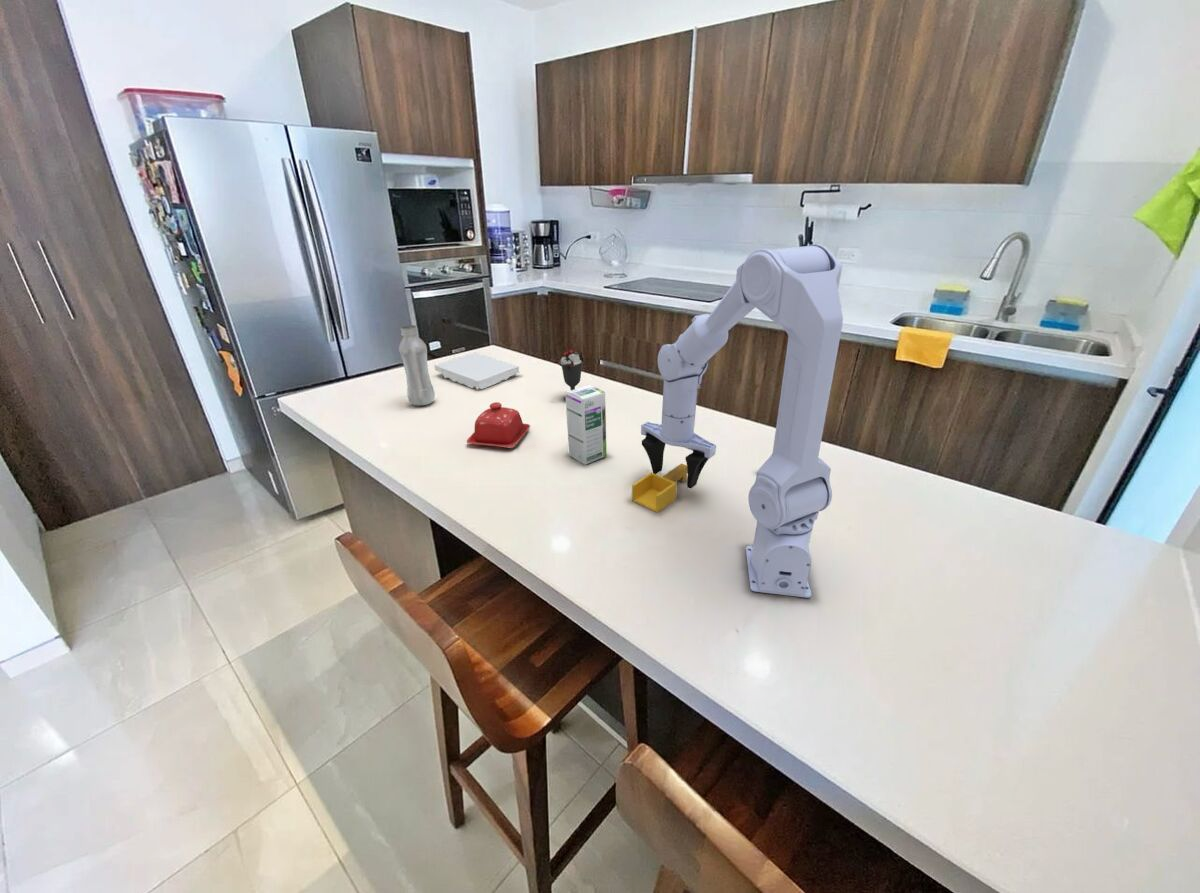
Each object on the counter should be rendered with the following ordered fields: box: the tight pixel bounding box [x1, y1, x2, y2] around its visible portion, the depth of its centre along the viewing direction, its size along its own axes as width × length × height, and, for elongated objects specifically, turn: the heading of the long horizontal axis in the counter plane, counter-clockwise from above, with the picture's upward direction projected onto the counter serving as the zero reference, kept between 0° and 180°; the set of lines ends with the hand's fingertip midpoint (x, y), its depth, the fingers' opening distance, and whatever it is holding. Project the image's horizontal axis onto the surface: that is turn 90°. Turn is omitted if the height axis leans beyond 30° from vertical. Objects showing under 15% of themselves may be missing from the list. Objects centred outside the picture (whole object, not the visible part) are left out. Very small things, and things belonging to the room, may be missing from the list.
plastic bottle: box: [398, 324, 436, 406], centre depth 125 cm, size 6×7×20 cm
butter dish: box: [466, 401, 531, 448], centre depth 109 cm, size 12×12×8 cm
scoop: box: [631, 463, 688, 513], centre depth 90 cm, size 13×6×4 cm, turn 139°
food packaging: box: [434, 351, 520, 391], centre depth 147 cm, size 15×3×20 cm
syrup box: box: [564, 384, 607, 466], centre depth 100 cm, size 6×6×14 cm
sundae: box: [558, 344, 585, 402], centre depth 128 cm, size 7×7×15 cm
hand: (674, 478), depth 92 cm, fingers open, 7 cm apart
